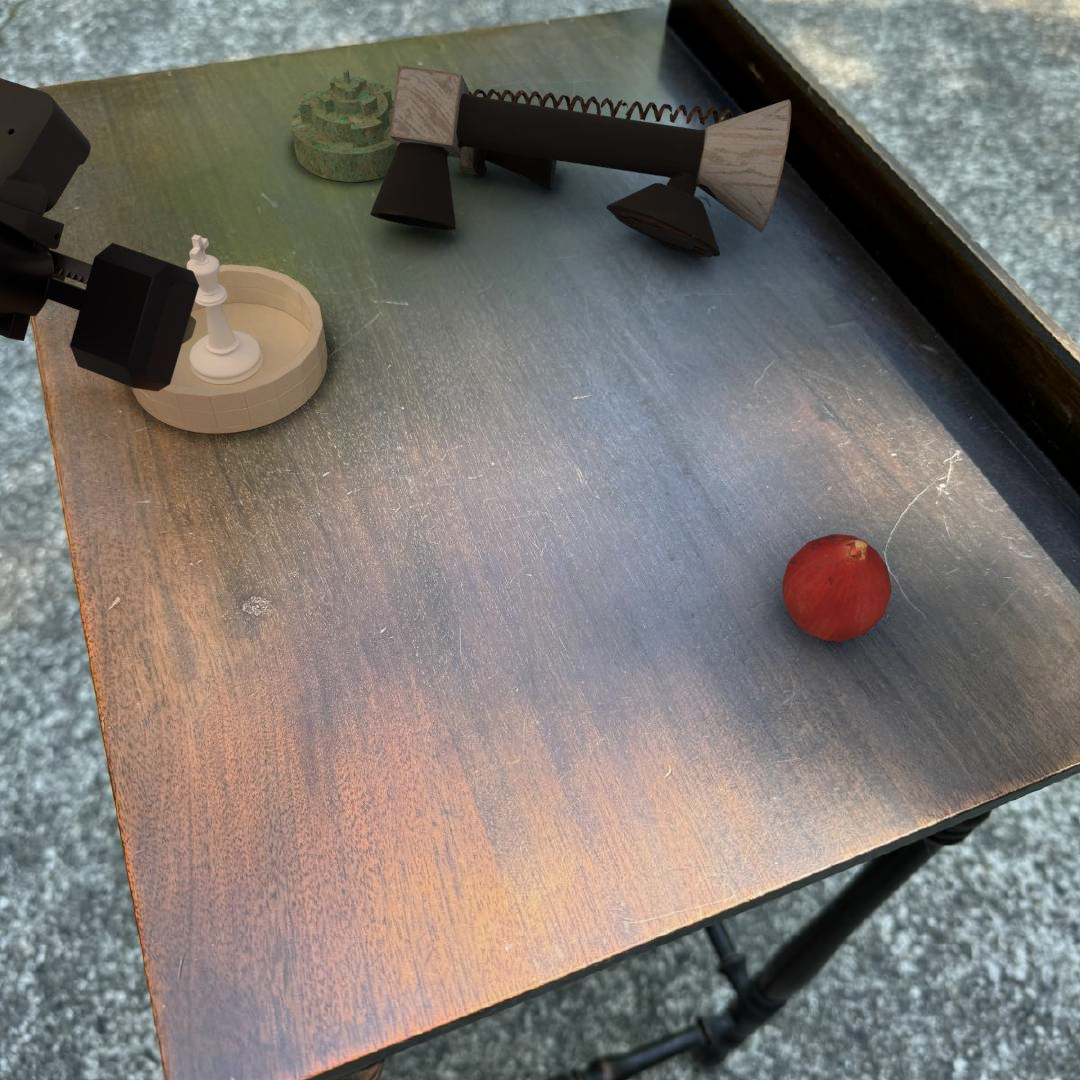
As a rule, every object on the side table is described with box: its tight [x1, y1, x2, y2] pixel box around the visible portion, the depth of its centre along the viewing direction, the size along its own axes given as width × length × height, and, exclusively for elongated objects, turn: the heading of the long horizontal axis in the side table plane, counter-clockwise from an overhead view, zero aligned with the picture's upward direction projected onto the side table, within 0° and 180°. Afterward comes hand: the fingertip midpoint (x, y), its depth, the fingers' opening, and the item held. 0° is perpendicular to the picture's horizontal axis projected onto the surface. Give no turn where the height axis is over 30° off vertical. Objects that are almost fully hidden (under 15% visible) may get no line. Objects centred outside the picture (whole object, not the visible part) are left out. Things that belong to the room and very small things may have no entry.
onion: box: [781, 533, 892, 643], centre depth 57 cm, size 6×6×8 cm
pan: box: [130, 263, 328, 435], centre depth 70 cm, size 13×13×4 cm
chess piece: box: [186, 234, 263, 385], centre depth 66 cm, size 5×5×10 cm
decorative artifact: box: [290, 69, 397, 183], centre depth 86 cm, size 10×7×10 cm
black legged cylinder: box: [370, 65, 792, 258], centre depth 80 cm, size 15×13×30 cm
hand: (125, 304), depth 59 cm, fingers open, 9 cm apart
